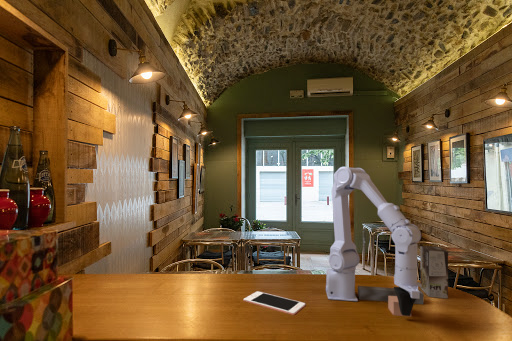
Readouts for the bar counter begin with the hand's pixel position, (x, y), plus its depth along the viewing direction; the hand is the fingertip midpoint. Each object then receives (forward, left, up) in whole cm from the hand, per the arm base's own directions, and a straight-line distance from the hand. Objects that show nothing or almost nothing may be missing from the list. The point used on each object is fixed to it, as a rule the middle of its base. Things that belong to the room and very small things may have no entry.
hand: (405, 314), depth 86 cm
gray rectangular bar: (0, +15, -1) cm, 15 cm away
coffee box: (+18, +25, -2) cm, 31 cm away
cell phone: (-38, +5, -2) cm, 38 cm away
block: (0, +5, -2) cm, 5 cm away
